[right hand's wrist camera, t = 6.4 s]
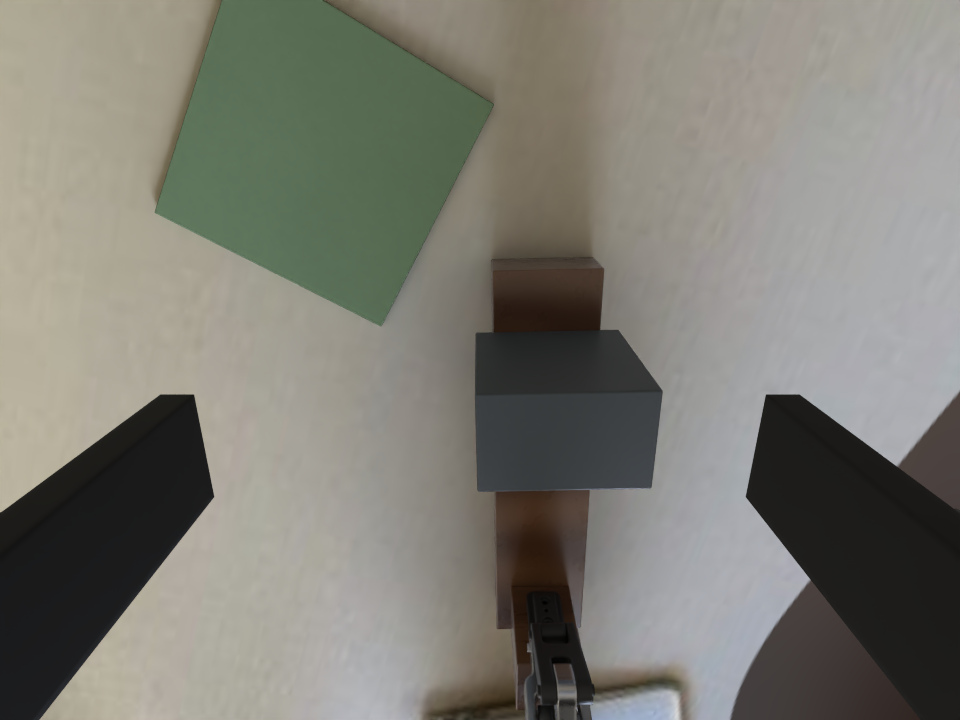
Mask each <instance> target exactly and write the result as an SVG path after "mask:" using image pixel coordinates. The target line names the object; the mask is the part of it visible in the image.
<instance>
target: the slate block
mask: <svg viewBox="0 0 960 720" xmlns="http://www.w3.org/2000/svg"><path fill="white" fill-rule="evenodd" d="M662 393H663V391H662V389H661V388H660V387H659V385H658V384H657V383H656V381H655V380H654V378H653V377H652V376H651V374H650V373H649V372H648V370H647V369H646V367H645V366H644V365H643V363H642V362H641V361H640V359H639V358H638V356H637V355H636V354H635V352H634V351H633V350H632V348H631V347H630V345H629V344H628V343H627V341H626V340H625V339H624V337H623V336H622V334H621V333H620V332H619V330H588V331H538V332H489V333H476V353H475V417H476V454H477V490H478V491H479V492H492V491H545V490H598V489H650V488H651V487H652V478H653V470H654V461H655V453H656V444H657V435H658V427H659V418H660V410H661V401H662Z"/></svg>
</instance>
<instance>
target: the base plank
mask: <svg viewBox="0 0 960 720" xmlns="http://www.w3.org/2000/svg"><path fill="white" fill-rule="evenodd" d="M491 275H492V332H538V331H588V330H600V324H601V309H602V294H603V279H604V268H603V267H602V266H601V265H600V264H599V263H598V262H597V261H596V260H595V259H594V258H593V257H585V258H537V259H492V260H491ZM589 491H590V490H545V491H494V510H495V588H496V620H497V629H511V639H512V654H513V669H514V684H515V700H516V709H517V710H525V703H524V684H525V679H526V678H527V677H528V676H529V675H531V663H530V652H529V653H528V651H527V643H529V627H528V617H527V607H526V596H527V594H528V593H529V592H532V591H554V592H557V593H558V594H559V595H560V600H561V605H562V611H563V617H564V622H573V623H574V626H575V629H577V635H578V639H579V642H580V638H579V633H578V628H580V627H581V613H582V598H583V582H584V567H585V552H586V537H587V522H588V506H589ZM580 645H581V643H580ZM581 649H582V648H581ZM537 705H541V702H540V699H539V700H537V701H536V703H535V707H536V710H537ZM577 709H578V708H577Z"/></svg>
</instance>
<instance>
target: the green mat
mask: <svg viewBox="0 0 960 720" xmlns="http://www.w3.org/2000/svg"><path fill="white" fill-rule="evenodd" d="M493 105H494V104H493V103H491V102H489V101H488V100H486V99H484V98H483V97H481V96H479V95H478V94H476V93H474V92H473V91H471V90H470V89H468V88H466V87H465V86H463V85H461V84H460V83H458V82H456V81H455V80H453V79H452V78H450V77H448V76H447V75H445V74H443V73H442V72H440V71H438V70H437V69H435V68H434V67H432V66H430V65H429V64H427V63H425V62H424V61H422V60H420V59H419V58H417V57H415V56H414V55H412V54H411V53H409V52H407V51H406V50H404V49H402V48H401V47H399V46H397V45H396V44H394V43H393V42H391V41H389V40H388V39H386V38H384V37H383V36H381V35H379V34H378V33H376V32H375V31H373V30H371V29H370V28H368V27H366V26H365V25H363V24H361V23H360V22H358V21H356V20H355V19H353V18H352V17H350V16H348V15H347V14H345V13H343V12H342V11H340V10H338V9H337V8H335V7H334V6H332V5H330V4H329V3H327V2H325V1H324V0H222V2H221V5H220V8H219V11H218V14H217V17H216V20H215V24H214V27H213V30H212V33H211V36H210V39H209V43H208V46H207V49H206V52H205V55H204V58H203V61H202V65H201V68H200V71H199V74H198V77H197V80H196V84H195V87H194V90H193V93H192V96H191V99H190V103H189V106H188V109H187V112H186V115H185V118H184V121H183V125H182V128H181V131H180V134H179V137H178V140H177V144H176V147H175V150H174V153H173V156H172V159H171V162H170V166H169V169H168V172H167V175H166V178H165V181H164V185H163V188H162V191H161V194H160V197H159V200H158V204H157V207H156V210H155V213H156V214H158V215H160V216H162V217H164V218H166V219H168V220H170V221H172V222H174V223H176V224H178V225H180V226H182V227H184V228H186V229H188V230H190V231H192V232H194V233H196V234H198V235H200V236H202V237H204V238H206V239H208V240H210V241H212V242H214V243H216V244H218V245H220V246H222V247H224V248H226V249H228V250H230V251H232V252H234V253H236V254H238V255H240V256H242V257H244V258H246V259H248V260H250V261H252V262H254V263H256V264H258V265H260V266H262V267H264V268H266V269H268V270H270V271H272V272H274V273H276V274H278V275H280V276H282V277H284V278H286V279H288V280H290V281H292V282H294V283H296V284H298V285H300V286H302V287H304V288H306V289H308V290H310V291H312V292H314V293H316V294H318V295H320V296H322V297H324V298H326V299H327V300H329V301H331V302H333V303H335V304H337V305H339V306H341V307H343V308H345V309H347V310H349V311H351V312H353V313H355V314H357V315H359V316H361V317H363V318H365V319H367V320H369V321H371V322H373V323H375V324H377V325H379V326H382V324H383V322H384V320H385V318H386V316H387V314H388V312H389V310H390V308H391V306H392V304H393V302H394V300H395V298H396V296H397V294H398V293H399V291H400V289H401V287H402V285H403V283H404V281H405V279H406V277H407V275H408V273H409V271H410V269H411V267H412V265H413V263H414V261H415V259H416V257H417V255H418V253H419V251H420V249H421V247H422V245H423V243H424V241H425V239H426V237H427V235H428V233H429V231H430V229H431V228H432V226H433V224H434V222H435V220H436V218H437V216H438V214H439V212H440V210H441V208H442V206H443V204H444V202H445V200H446V198H447V196H448V194H449V192H450V190H451V188H452V186H453V184H454V182H455V180H456V178H457V176H458V174H459V172H460V170H461V168H462V166H463V165H464V163H465V161H466V159H467V157H468V155H469V153H470V151H471V149H472V147H473V145H474V143H475V141H476V139H477V137H478V135H479V133H480V131H481V129H482V127H483V125H484V123H485V121H486V119H487V117H488V115H489V113H490V111H491V109H492V107H493Z"/></svg>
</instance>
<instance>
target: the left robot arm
mask: <svg viewBox="0 0 960 720" xmlns="http://www.w3.org/2000/svg"><path fill="white" fill-rule="evenodd" d="M526 607H527V617H528V627H529V643H527V651H528V653H529V652H530V663H531V675H529V676H528V677H527V678H526V679H525V684H524V703H525V718H526V720H592V717H591V710H590V705H592V704H593V696H595V689H594V684H592V682H591V678H590V675H589V671H588V668H587V665H586V662H585V658H584V655H583V652H582V649H581V645H580V642H579V639H578V635H577V629H575V626H574V623H573V622H564V617H563V611H562V605H561V600H560V595H559V594H558V593H557V592H554V591H532V592H529V593H528V594H527V596H526ZM539 699H540V702H541V705H537V710H536V707H535V703H536V701H537V700H539ZM577 708H578V712H577Z"/></svg>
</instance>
